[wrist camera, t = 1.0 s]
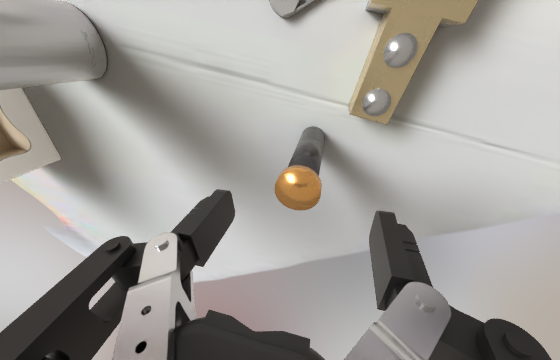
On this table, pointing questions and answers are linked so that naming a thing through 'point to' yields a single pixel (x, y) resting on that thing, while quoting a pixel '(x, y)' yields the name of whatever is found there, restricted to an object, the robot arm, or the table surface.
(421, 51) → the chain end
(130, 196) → the table surface
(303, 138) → the pin
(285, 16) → the pulley system
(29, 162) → the white open frame
